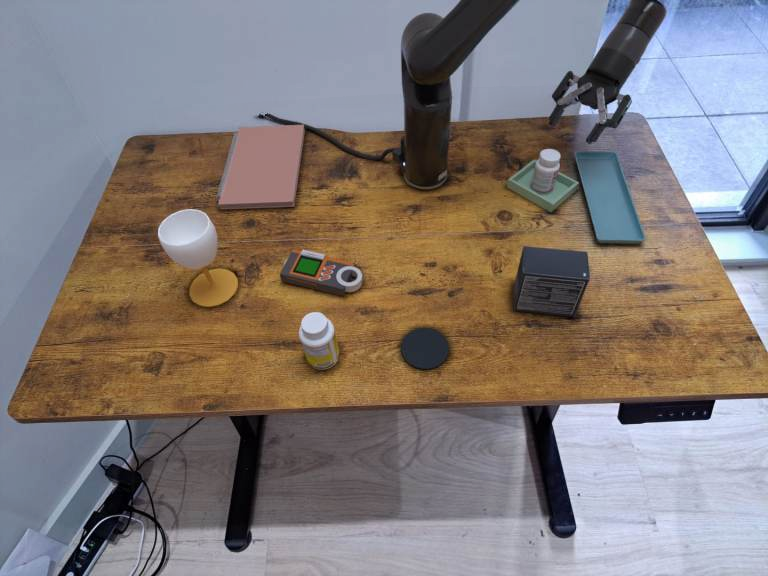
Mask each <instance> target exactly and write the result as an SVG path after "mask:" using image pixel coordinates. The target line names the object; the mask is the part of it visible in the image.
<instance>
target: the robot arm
mask: <svg viewBox="0 0 768 576" xmlns="http://www.w3.org/2000/svg"><path fill="white" fill-rule="evenodd" d="M520 1H521V0H459V1H458V3H457V4H455V6H454V7H453V8H452V9H451V10H450V11H449V12H448V13H447V14H446V15H445V16H444V17H443V16H441V15H439V14H437V13H434V12H423V13H420V14H418V15H415V16H414V17H413V18H412V19H410V21H409V22H408V23H407V24H406V26H405V27H404V29H403V31H402V35H401V41H400V62H401V63H400V67H401V68H400V69H401V89H402V98H403V135H402V136H401V137H400V145H399V146H398V147H390V148H387V149H385V150H384V151H383V152H382V153H381V155H375V156H374V155H368V154H365V153H362V152H361V151H357V150H355V149H353V148H351V147H348V146H346V145H345V144H343V143H341V142H340V141H338V140H337V139H336V138H334V137H332V136H331V135H329V134H327V133H325V132H324V131H322V130H320V129H318V128H316V127H314V126H312V125H309V124H306V123H302V122H300V121H299V122H298V121H294V120H288V119H285V118H280V117H277V116H276V115H273V114H271V113H269V112H266V113H267V114H265V116H263V115H261V113H260V114H259V115H258V116H257V117H258V118H259V119H262V118H263V117H266V118H269V119H271V120H273V121H274V122H277V123H280V124H286V125H304V129H305V130H306V129H307V130H309V131H311V132H313V133H315V134H318V135H319V136H321V137H323V138H324V139H326V140H328V141H329V142H331V143H332V144H334V145H336V146H337V147H338V148H339V149H341V150H343V151H345V152H346V153H348V154H349V153H350V154H352V155H354V156H357V157H360V158H362V159H364V160H370V161H381V160H384V159H385V158H386V156H387V155H388V154H392V160H393V161H394V162H395V163H397V164H399V165H400V170H401V171H400V172H401V173H400V174H401V175H402V176H403V178H404V182H405V183H406V184H407V185H408V186H409V187H411V188H413V189H415V190H419V191H433V190H436V189H439V188H441V187H442V186H443V185H444V184H445V183H446V182H447V180H448V163H449V149H450V138H451V137H450V134H451V122H452V120H451V119H452V108H453V107H452V106H453V90H452V82H451V76H452V75H454V74H455V73H456V71H457V70H458V69H459V68H460V67H461V65H463V63H464V62H465V61H466V60H467V58H468V57H469V56H470V55H471V54H472V52H474V50H475V49H476V48H477V47H478V45H479V44H480V43H481V42H482V41H483V40H484V38H485V37H486V36H487V35H488V34H489V33H490V32H491V30H492V29H493V28H494V27H495V26H496V25H497V24H498V23H499V22H500V21H501V20H503V18H504V17H506V15H507V14H509V12H511V10H513V9H514V7H515V6H516V5H517V4H519V2H520ZM666 16H667V8H666V6H665V5H664V3H662V2H661V1H659V0H629V3H628V5H627V7H626V9H625V10H624V12H623V13H622V15H621V17H620V18H619V20H618V21H617V23H616V25H615V26H614V28H613V29H612V30H611V31H610V33H609V34H608V35H607V37H606V38H605V40H604V41H603V43H602V44H601V46H600V48H599V49H598V51H597V53H596V54H595V56H594V58H592V61H591V62H590V64H589V66H588V67H587V69H586V71H585V73H584V74H583V75H582V76H578V75H577V74H575V73H574V72H573V71H572V70H569V71H567V72H566V74H565V75H564V77H563V78H562V79H561V81H560V83H559V84H558V85H557V87H556V88H555V90H554V91H553V92H552V94H551V98H552V100H553V101H554V102H555V103H556V105H555V107H554V109H552V111H551V114H550V115H549V116H548V121H549V122H548V124H549V125H550V126H552V127H554V128H555V127H556V125H557V123H558V122H559V120H560V119H561V117H562V116H563V114H564V112H565V109H567V108H568V107H571V106H574V105H576V104H577V105H578V103H580V104H581V105H582V106H585V107H589V108H591V110H594V111H596V110H597V112H598V122H596V123H595V125H594V126H593V128H592V129H591V130H590V132H589V133H588V135H587V137H586V139H585V142H586V143H587V144H589V145H591V144H593V143H596V142H598V140H599V138H600V136H601V135H602V133H603V132H604V130H605V129H607V128H612V129H617V128H618V127H619V126H620V123H621V122H622V120H623V119H624V117H625V116H626V114H627V112H628V111H629V108H630V107H631V105H632V103H633V100H632V97H631V95H630V94H622V93H620V92H621V90H622V88H623V87H624V85H625V83H626V82H627V80H628V79H629V77H630V76H631V74H632V73H633V71H634V69H635V68H636V66H637V65H638V64H639V63H640V61H641V59H642V57H643V56H644V54H645V52H646V50H647V47H648V46H649V44H650V42H651V40H652V39H653V38H654V36H655V34H656V33H657V31H658V30H659V29H660V27H661V25H662V23H664V20H665V18H666ZM576 84H577V85H576ZM574 85H576V86H577V88H576V89H574V90H572V91H570V92H569V93H568V94H567V95H566V93H567V92H568V91H569V89H570V88H571V87H574ZM615 101H616V105H617V108H616V110H615V111H614V113H613V114H612V116H611V118H609V117H608V115H609V112H608V111H609V110H608V105H610V104H611V103H613V102H615ZM268 113H269V114H268Z"/></svg>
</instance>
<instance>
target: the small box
mask: <svg viewBox="0 0 768 576" xmlns="http://www.w3.org/2000/svg"><path fill="white" fill-rule="evenodd" d="M519 259H520V260H519V264H518V267H517V271H516V276H515V278H514V279H515V280H514V283H513V300H512V301H513V303H512V310H513V311H514V312H521V313H530V314H540V315H547V316H556V317H557V316H558V317H564V318H565V317H567V318H575V317H576V315H577V311H578V309H579V306H580V304H581V302H582V300H583V297H584V295H585V292H586V289H587V287H588V284H589V283H590V281H591V271H590V261H589V253H588V251H583V250H570V249H559V248H549V247H548V248H547V247H539V246H538V247H537V246H527V245H523V247H522V249H521V255H520V258H519Z"/></svg>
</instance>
